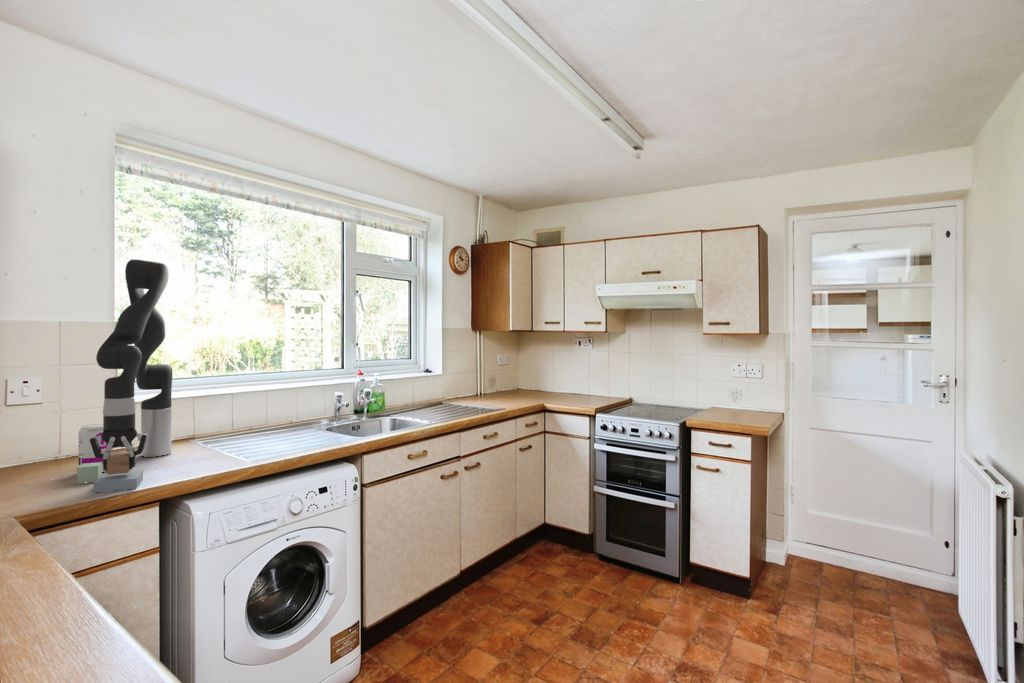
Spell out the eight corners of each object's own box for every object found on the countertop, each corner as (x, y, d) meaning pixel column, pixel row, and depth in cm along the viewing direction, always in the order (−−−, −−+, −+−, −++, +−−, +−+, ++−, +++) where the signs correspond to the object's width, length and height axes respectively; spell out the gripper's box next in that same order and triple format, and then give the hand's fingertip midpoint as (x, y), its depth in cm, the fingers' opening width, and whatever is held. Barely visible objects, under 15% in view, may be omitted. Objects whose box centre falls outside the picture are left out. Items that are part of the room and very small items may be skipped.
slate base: (102, 483, 154) (102, 473, 154) (142, 479, 159) (142, 470, 159) (93, 493, 145) (93, 482, 145) (136, 488, 150) (136, 478, 150)
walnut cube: (110, 470, 153) (110, 453, 153) (131, 468, 155) (131, 452, 155) (107, 474, 149) (107, 457, 149) (128, 472, 151) (128, 455, 151)
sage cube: (81, 479, 158) (81, 463, 158) (102, 477, 160) (102, 462, 160) (77, 484, 154) (77, 467, 153) (98, 482, 156) (98, 465, 156)
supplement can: (117, 470, 169) (117, 424, 168) (89, 476, 161) (89, 429, 161) (100, 467, 171) (100, 422, 171) (72, 473, 164) (72, 426, 163)
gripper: (150, 409, 158) (150, 464, 159) (92, 412, 152) (92, 469, 152) (146, 413, 152) (146, 470, 152) (85, 416, 145) (85, 476, 145)
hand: (119, 469), depth 152 cm, fingers closed on walnut cube, 4 cm apart
